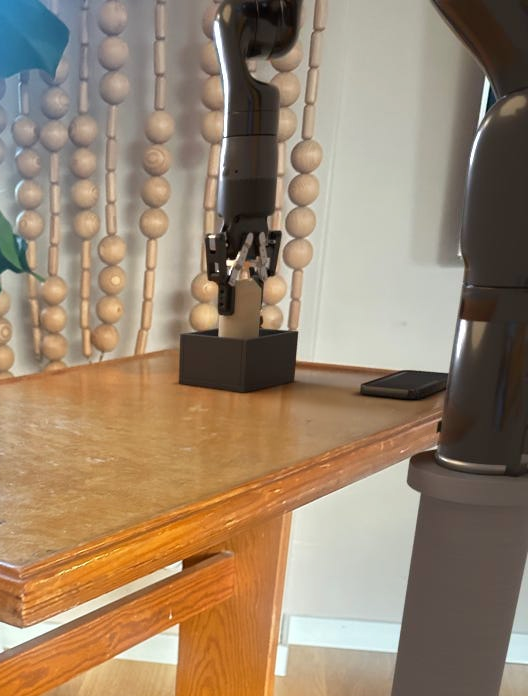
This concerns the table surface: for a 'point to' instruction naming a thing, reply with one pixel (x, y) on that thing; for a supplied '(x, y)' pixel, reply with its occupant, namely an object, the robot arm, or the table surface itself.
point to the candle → (243, 312)
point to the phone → (406, 384)
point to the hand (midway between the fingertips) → (240, 312)
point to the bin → (237, 360)
